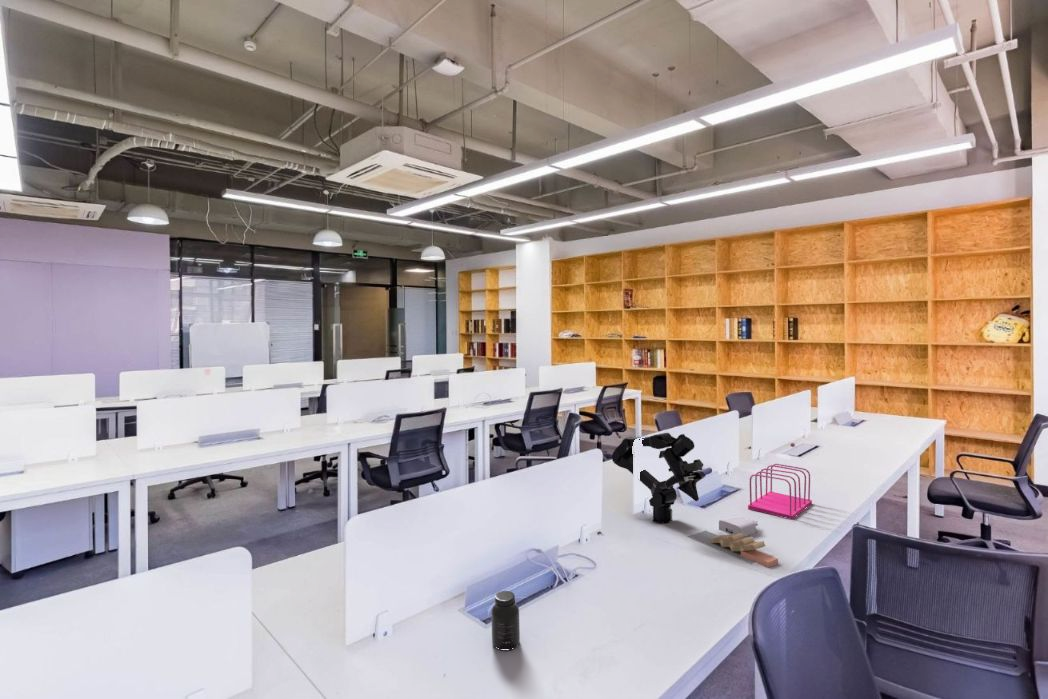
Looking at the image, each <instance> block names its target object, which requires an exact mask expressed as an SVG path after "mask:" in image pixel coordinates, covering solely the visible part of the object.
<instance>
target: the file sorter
mask: <svg viewBox="0 0 1048 699" xmlns="http://www.w3.org/2000/svg"><path fill="white" fill-rule="evenodd" d="M773 468H779V469H773ZM781 469H786V470H781ZM787 470H791V471H787ZM769 471H770V472H769ZM793 471H795V472H793ZM775 472H780V473H781V474H779V473H775ZM796 472H800V473H802V474H803V475H804V476H803V477H804V483H803V484H804V487H803V488H804V490H803V492H804V493H803V497H802V496H801V478H800V476H799V475H798V474H797V473H796ZM805 472H807V474H808V489H807V476H806V473H805ZM782 473H785V474H782ZM763 474H765V475H763ZM786 474H793V475H794V476H796V477H797V479H798V496H797V482H796V479H795V478H794V477H792V476H791V475H786ZM773 475H774V476H773ZM776 476H779V477H776ZM753 477H754V478H755V480H754V490H755V492H754V493H755V500H754V501H752V499H753V498H752V497H753V496H752V479H753ZM758 477H759V486H760V488H759V490H760V491H759V492H760V497H758V487H757V486H758ZM781 477H785V478H781ZM762 478H765V494H763V486H762V484H763V483H762V482H763V481H762V480H763V479H762ZM786 478H790V479H791V480H792V481H793V483H794V484H793V485H794V487H793V488H794V490H793V492H794V495H792V484H791V483H790V481H788V479H786ZM768 479H770V491H768ZM773 479H775V480H780V481H785V482H787V484H788V486H789V488H788V489H789V490H788V491H789V494H784V493H780V492H775V491H773ZM807 490H808V492H807ZM807 493H808V495H807ZM806 496H807V498H806ZM810 497H811V473H810V471H809V470H808V469H806V468H804V467H799V466H792V465H787V464H779V463H774V464H770V465H768V466H767V467H766V468H763V469H761V470H760V471H758V472H756V473H755V474H752V475H750V477H749V504H748V505H747V510H750V509H751V511H755V510H756V511H755V512H759V511H761V512H760V513H763V512H765V513H764V514H767V513H769V515H772V514H773V515H772V516H776V515H778V516H777V517H780V516H782V517H781V518H784V517H787V518H786V519H788V518H790V519H789V520H793V518H794V517H795V516H796V515H797V516H799V515H800V514H801V513H803V510H804V509H805V508H806V507H807V508H809V507H810V506H811V505H812V504H813V499H811V498H810ZM810 504H811V505H810ZM809 505H810V506H809ZM808 506H809V507H808ZM807 508H806V509H807ZM806 509H805V510H806ZM805 510H804V511H805ZM800 512H801V513H800ZM799 513H800V514H799ZM798 514H799V515H798ZM797 516H796V517H797ZM796 517H795V518H796ZM795 518H794V519H795Z"/></svg>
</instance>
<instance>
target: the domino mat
mask: <svg viewBox="0 0 1048 699" xmlns="http://www.w3.org/2000/svg"><path fill="white" fill-rule="evenodd" d="M717 536H719V535H717V534H715V533H713V532H711V531H708V530H704V531H700V532H696V533H694V534H690V535H687V536H686V537H687V538H690V539H691V540H695V541H696V542H699V543H701V544H704V545H705V546H708V547H710V548H712V549H715V550H717V551H719V552H721V553H724V554H726V555H729V556H731V557H734V558H736V559H738V560H740V561H743V562H745V563H747V564H750V565H752V564H755V563H756V562H755V561H752V560H750V559H747V558H745V557H743V556H741V551H734V552H731V549H730V547H721V544H720V543H711V538H714V537H717Z"/></svg>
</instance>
